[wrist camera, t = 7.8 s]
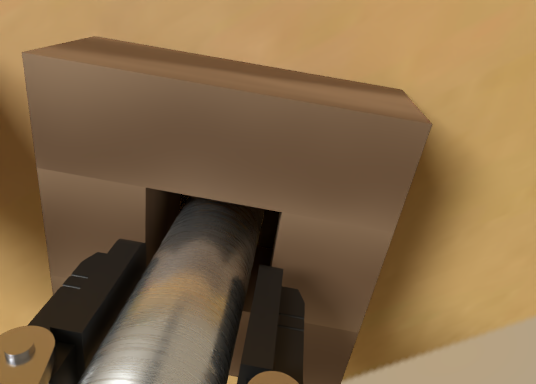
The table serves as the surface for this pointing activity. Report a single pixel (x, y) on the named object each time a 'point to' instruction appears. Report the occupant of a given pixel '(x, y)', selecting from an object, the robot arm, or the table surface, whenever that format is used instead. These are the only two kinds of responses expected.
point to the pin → (184, 302)
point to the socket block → (225, 169)
